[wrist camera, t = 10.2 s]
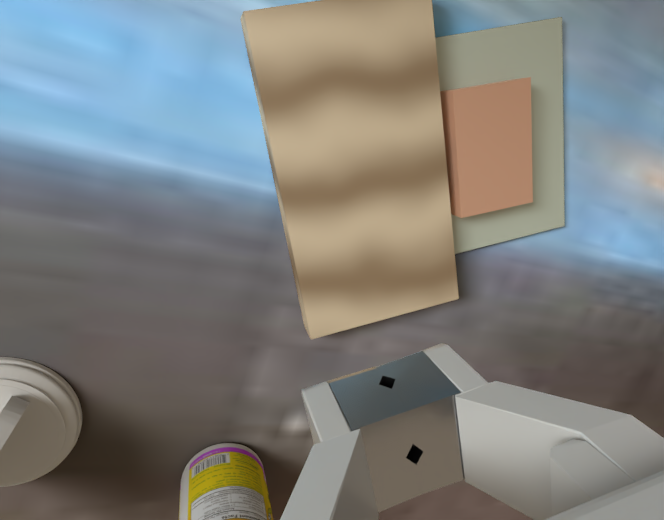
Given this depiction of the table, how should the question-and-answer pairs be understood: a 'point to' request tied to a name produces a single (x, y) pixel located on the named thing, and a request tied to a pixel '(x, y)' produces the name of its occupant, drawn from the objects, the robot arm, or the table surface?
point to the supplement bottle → (224, 485)
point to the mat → (546, 113)
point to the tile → (488, 146)
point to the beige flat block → (356, 155)
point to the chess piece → (34, 420)
